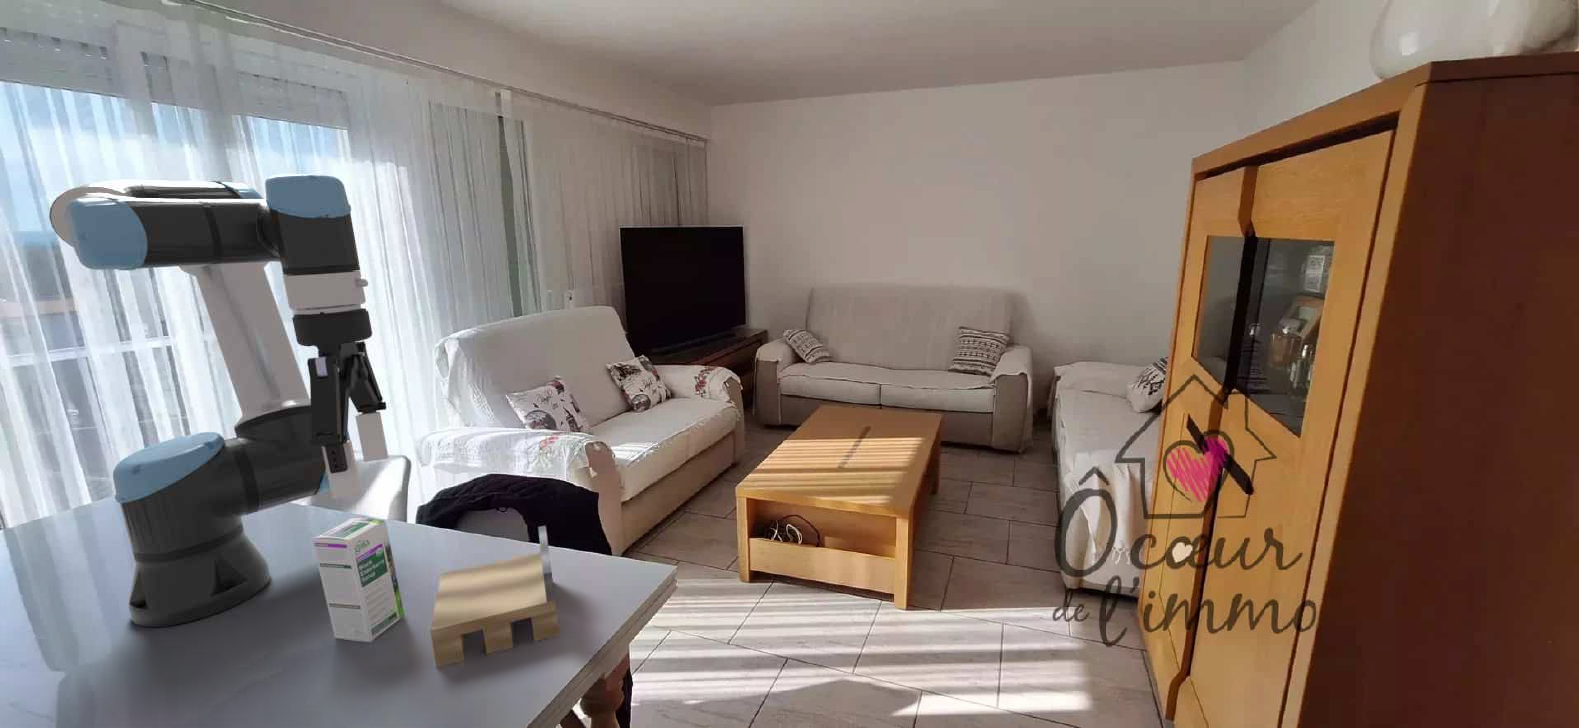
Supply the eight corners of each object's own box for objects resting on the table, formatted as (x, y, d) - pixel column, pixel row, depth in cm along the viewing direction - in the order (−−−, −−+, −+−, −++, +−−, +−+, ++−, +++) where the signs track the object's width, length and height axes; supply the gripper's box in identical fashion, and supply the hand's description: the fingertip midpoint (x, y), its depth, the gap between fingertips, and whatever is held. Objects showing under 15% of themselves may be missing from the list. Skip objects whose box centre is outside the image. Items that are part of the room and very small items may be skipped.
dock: (446, 605, 89) (436, 547, 87) (552, 581, 94) (545, 525, 92) (436, 667, 76) (424, 600, 74) (559, 635, 82) (551, 571, 80)
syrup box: (370, 643, 81) (350, 539, 78) (332, 639, 82) (310, 536, 79) (405, 617, 87) (387, 518, 83) (369, 613, 88) (350, 516, 85)
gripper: (334, 317, 66) (371, 508, 70) (390, 298, 89) (415, 443, 93) (246, 324, 63) (290, 522, 68) (326, 303, 86) (356, 451, 91)
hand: (363, 476), depth 80 cm, fingers open, 13 cm apart
